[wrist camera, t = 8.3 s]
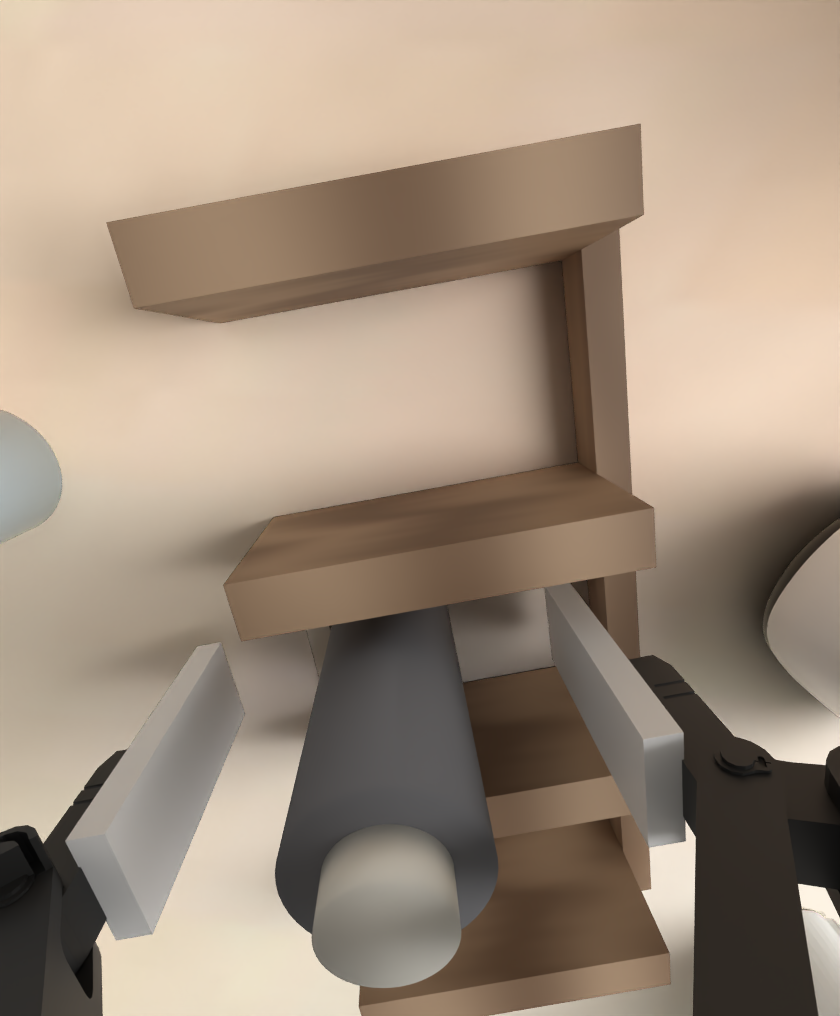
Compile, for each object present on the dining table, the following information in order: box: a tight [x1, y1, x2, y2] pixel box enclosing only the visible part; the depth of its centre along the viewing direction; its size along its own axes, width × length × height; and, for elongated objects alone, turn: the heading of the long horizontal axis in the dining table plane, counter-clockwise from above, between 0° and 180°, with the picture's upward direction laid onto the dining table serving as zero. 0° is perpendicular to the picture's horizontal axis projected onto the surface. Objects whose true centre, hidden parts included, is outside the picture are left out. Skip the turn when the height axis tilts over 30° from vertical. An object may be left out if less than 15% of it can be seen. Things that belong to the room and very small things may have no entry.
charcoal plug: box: [275, 605, 498, 988], centre depth 13 cm, size 4×4×10 cm
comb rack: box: [106, 124, 671, 1016], centre depth 15 cm, size 11×26×5 cm, turn 10°
